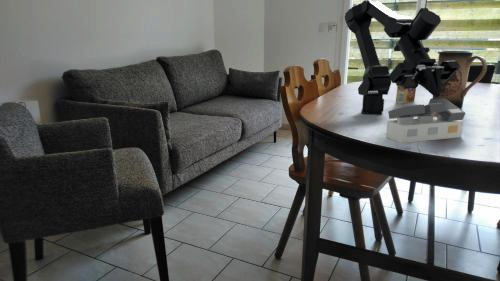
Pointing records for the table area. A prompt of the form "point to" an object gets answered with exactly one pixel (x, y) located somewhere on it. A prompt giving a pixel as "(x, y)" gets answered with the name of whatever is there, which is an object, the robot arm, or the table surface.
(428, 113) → the rocker
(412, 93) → the candy box
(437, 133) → the power strip
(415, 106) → the rocker
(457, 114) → the rocker
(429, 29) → the robot arm
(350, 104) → the table surface
